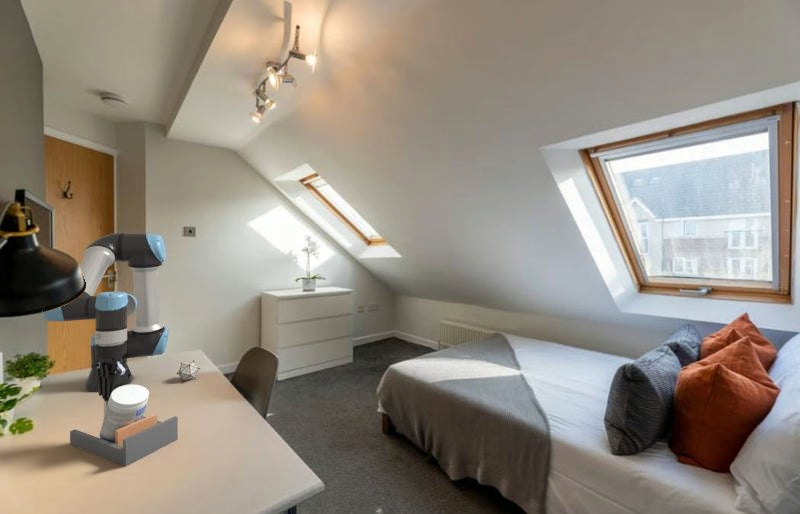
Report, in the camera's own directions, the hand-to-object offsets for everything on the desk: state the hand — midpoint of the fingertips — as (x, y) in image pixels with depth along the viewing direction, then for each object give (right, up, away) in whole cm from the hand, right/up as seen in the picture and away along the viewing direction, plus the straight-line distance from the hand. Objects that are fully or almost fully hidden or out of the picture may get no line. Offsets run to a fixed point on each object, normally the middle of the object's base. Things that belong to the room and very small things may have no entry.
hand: (109, 419), depth 107 cm
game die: (-5, -5, +47) cm, 48 cm away
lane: (+5, -6, -1) cm, 8 cm away
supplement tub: (+4, -4, -1) cm, 6 cm away
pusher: (+12, -6, -4) cm, 15 cm away
